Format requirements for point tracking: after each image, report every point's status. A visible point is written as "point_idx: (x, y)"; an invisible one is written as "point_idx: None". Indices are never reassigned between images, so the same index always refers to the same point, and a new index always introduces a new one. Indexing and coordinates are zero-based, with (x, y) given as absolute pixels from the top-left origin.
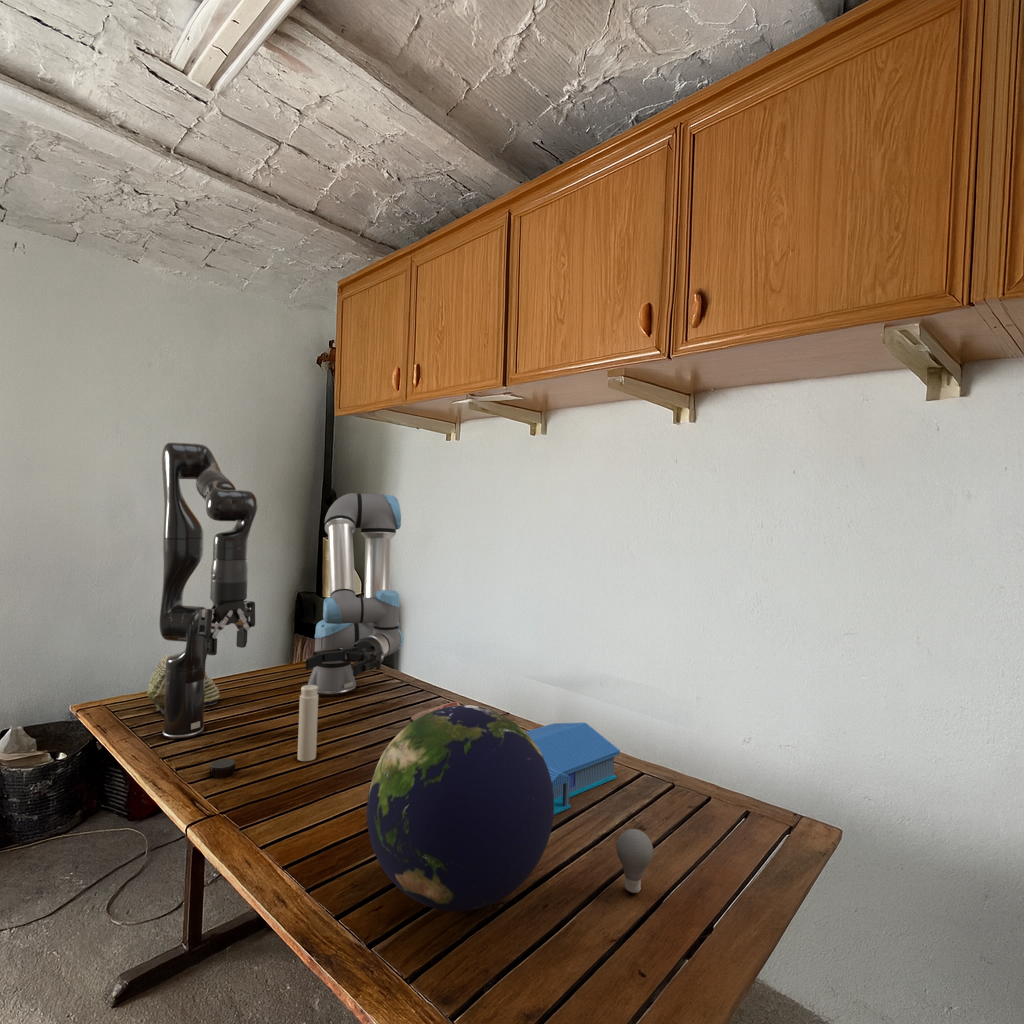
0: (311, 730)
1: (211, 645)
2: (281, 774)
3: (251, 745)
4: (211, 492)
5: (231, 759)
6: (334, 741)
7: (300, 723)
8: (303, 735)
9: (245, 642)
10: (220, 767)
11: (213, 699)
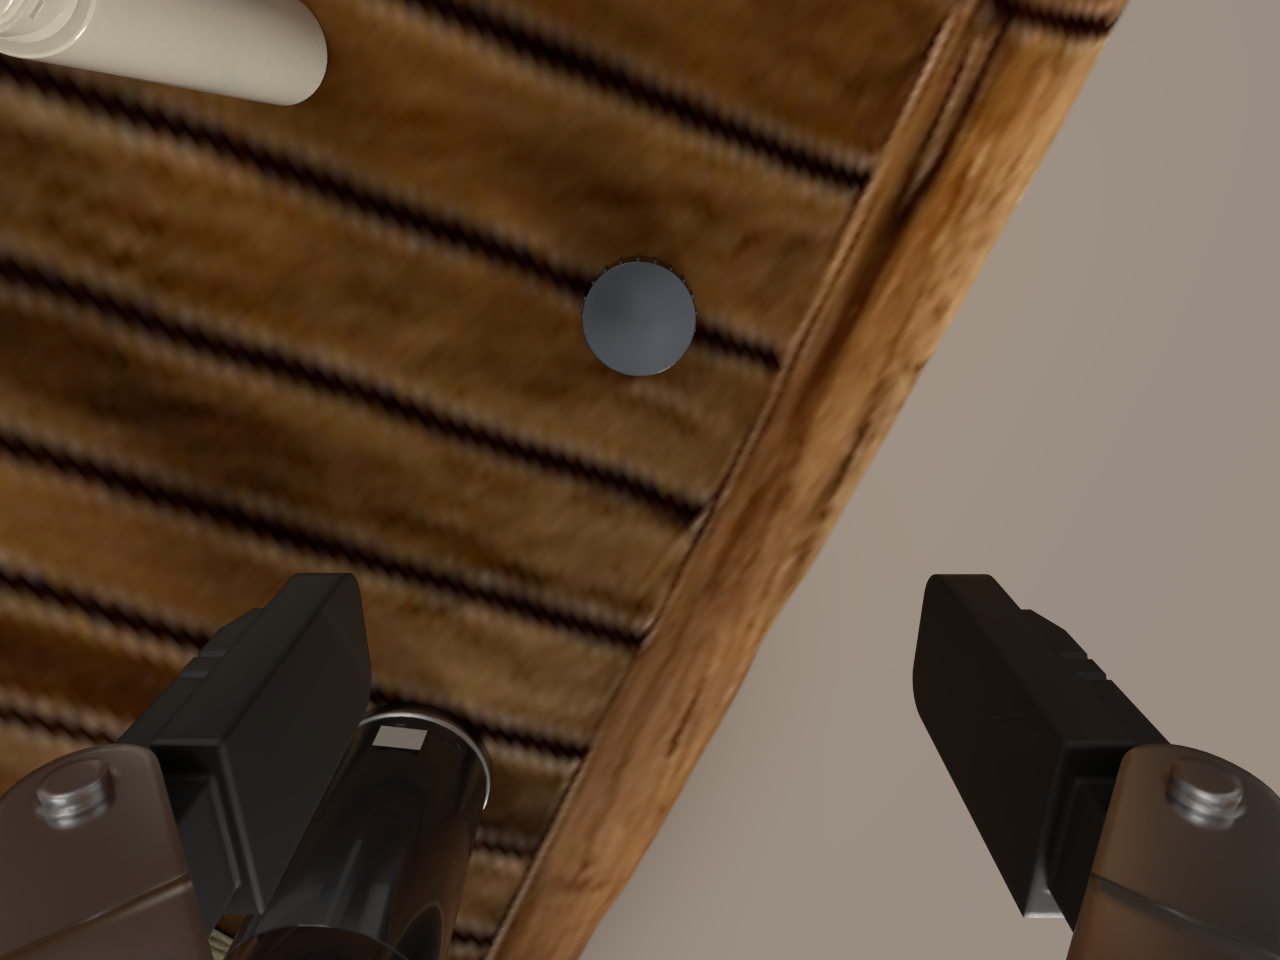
0: None
1: (1097, 687)
2: (508, 23)
3: (334, 432)
4: None
5: (584, 317)
6: (7, 61)
7: (224, 26)
8: (257, 6)
9: (285, 603)
10: (681, 291)
11: None
